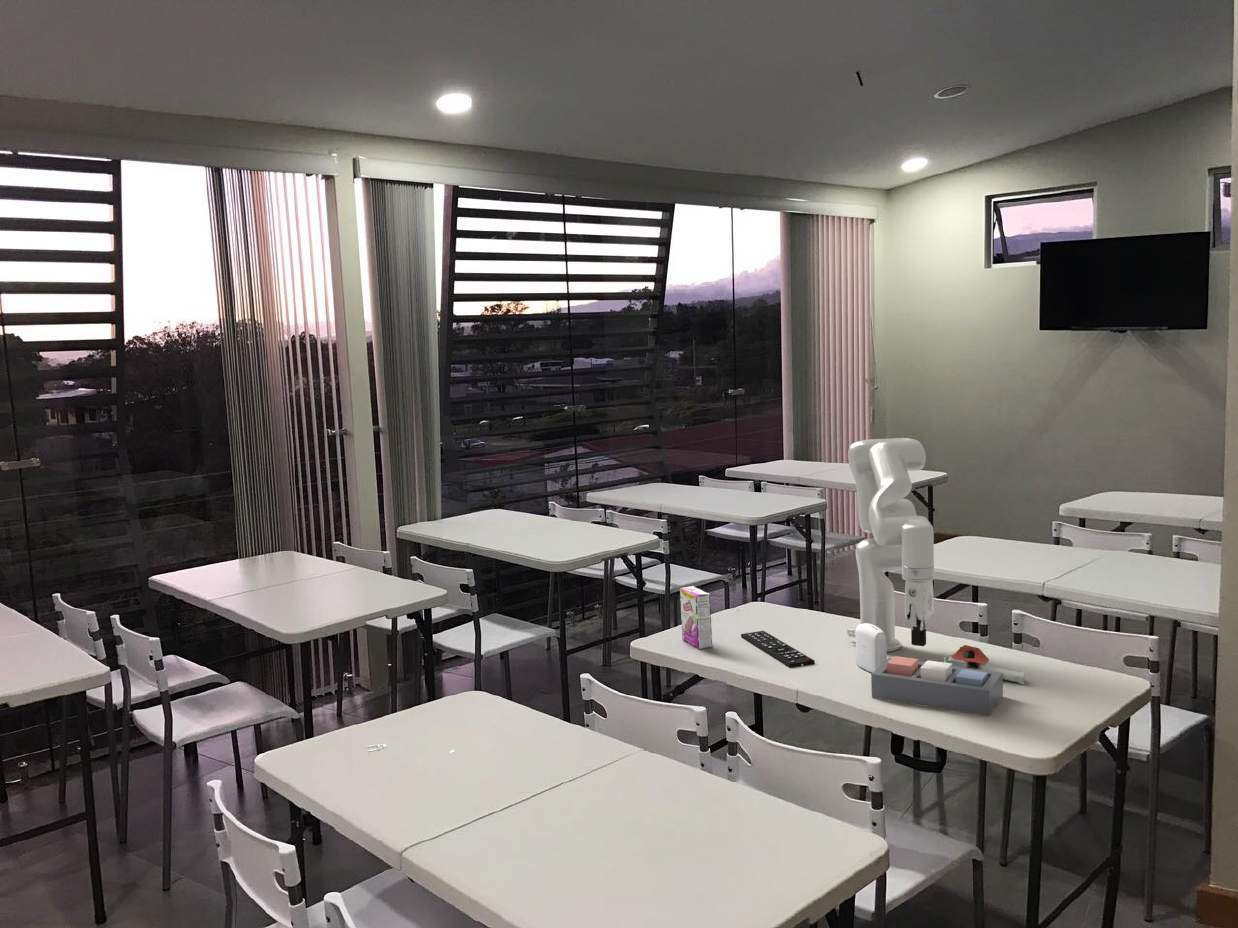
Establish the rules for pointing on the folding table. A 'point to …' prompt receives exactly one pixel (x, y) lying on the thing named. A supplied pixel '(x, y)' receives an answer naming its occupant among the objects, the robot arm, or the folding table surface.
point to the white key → (936, 671)
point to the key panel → (939, 690)
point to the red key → (902, 666)
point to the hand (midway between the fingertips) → (918, 644)
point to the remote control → (777, 649)
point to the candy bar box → (696, 617)
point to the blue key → (972, 677)
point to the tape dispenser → (981, 663)
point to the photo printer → (870, 647)
